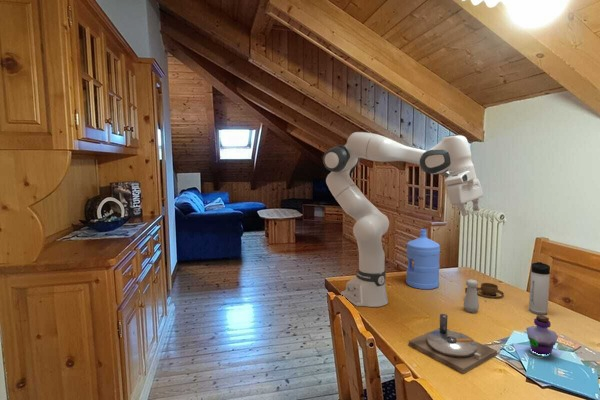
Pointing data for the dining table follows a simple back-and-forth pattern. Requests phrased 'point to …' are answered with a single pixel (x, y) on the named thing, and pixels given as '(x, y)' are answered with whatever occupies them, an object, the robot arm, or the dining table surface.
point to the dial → (451, 341)
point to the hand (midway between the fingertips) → (471, 213)
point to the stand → (454, 362)
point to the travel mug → (539, 288)
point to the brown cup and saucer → (489, 291)
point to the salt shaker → (471, 296)
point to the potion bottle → (541, 336)
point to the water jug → (423, 262)
